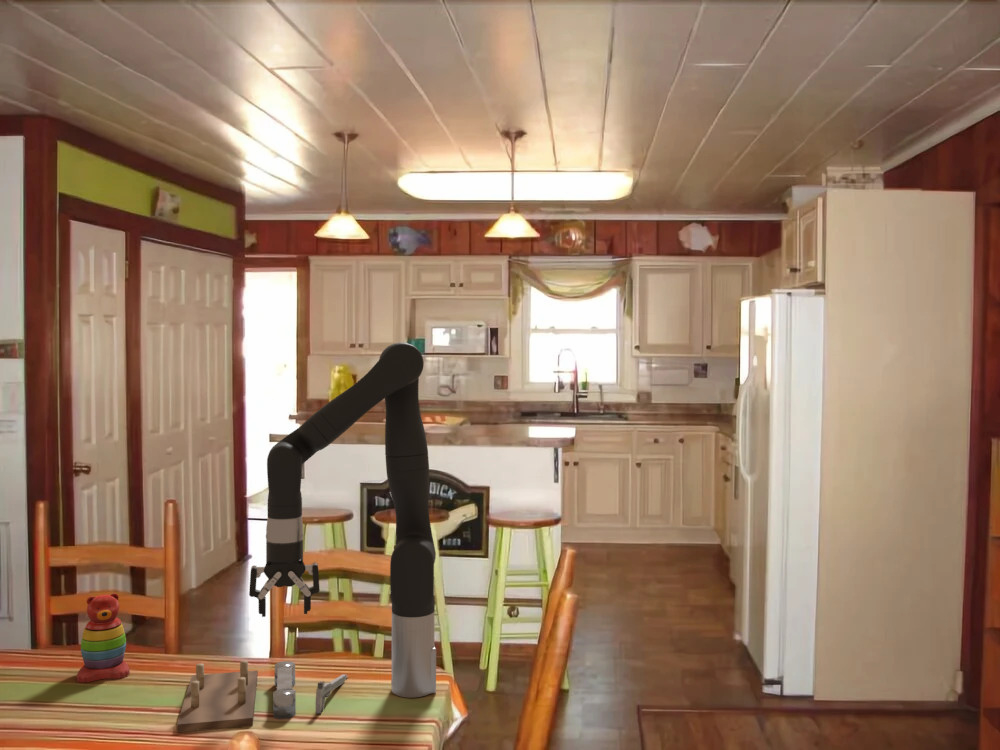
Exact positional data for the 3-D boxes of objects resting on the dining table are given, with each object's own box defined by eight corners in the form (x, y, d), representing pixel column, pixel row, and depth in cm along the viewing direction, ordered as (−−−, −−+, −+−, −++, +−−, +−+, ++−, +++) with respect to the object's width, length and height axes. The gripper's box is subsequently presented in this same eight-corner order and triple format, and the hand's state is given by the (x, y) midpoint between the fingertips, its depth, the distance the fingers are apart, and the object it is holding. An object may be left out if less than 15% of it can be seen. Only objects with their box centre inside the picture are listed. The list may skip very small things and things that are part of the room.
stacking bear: (75, 684, 191) (75, 603, 191) (78, 668, 201) (78, 591, 200) (129, 677, 196) (129, 598, 195) (129, 662, 205) (129, 587, 204)
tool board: (257, 677, 196) (257, 648, 196) (252, 725, 171) (252, 692, 171) (191, 682, 193) (191, 652, 193) (177, 732, 168) (176, 698, 168)
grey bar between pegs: (295, 680, 195) (295, 660, 194) (295, 718, 175) (295, 695, 175) (274, 682, 194) (274, 662, 193) (272, 720, 174) (272, 697, 174)
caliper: (320, 716, 176) (320, 685, 176) (315, 715, 176) (315, 685, 176) (348, 678, 197) (348, 651, 196) (343, 678, 197) (343, 650, 197)
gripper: (318, 532, 189) (318, 607, 189) (250, 535, 185) (250, 611, 186) (320, 540, 181) (319, 617, 182) (248, 543, 178) (248, 622, 178)
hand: (284, 614), depth 184 cm, fingers open, 8 cm apart
